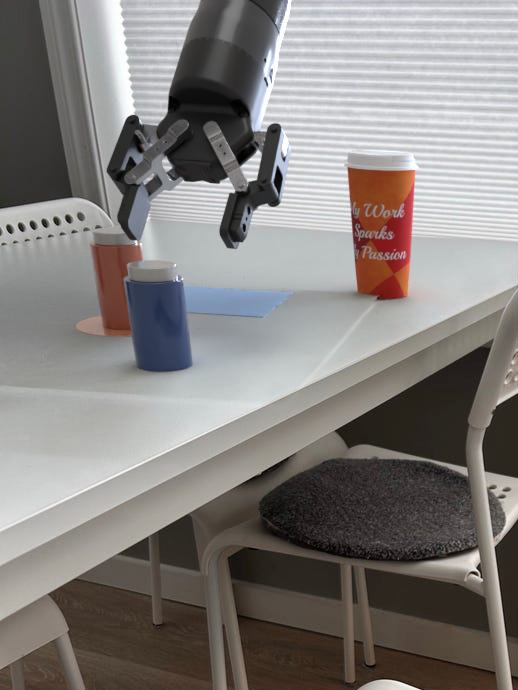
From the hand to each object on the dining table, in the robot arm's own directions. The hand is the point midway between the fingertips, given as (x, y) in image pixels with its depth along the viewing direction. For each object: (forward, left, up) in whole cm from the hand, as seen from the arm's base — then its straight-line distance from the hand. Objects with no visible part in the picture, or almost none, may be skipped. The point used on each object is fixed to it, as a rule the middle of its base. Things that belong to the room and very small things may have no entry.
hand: (178, 238), depth 76 cm
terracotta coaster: (-9, +7, -9) cm, 15 cm away
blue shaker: (-1, -5, -9) cm, 10 cm away
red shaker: (-9, +7, -9) cm, 14 cm away
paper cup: (+11, +29, -9) cm, 33 cm away
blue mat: (-5, +19, -9) cm, 22 cm away
